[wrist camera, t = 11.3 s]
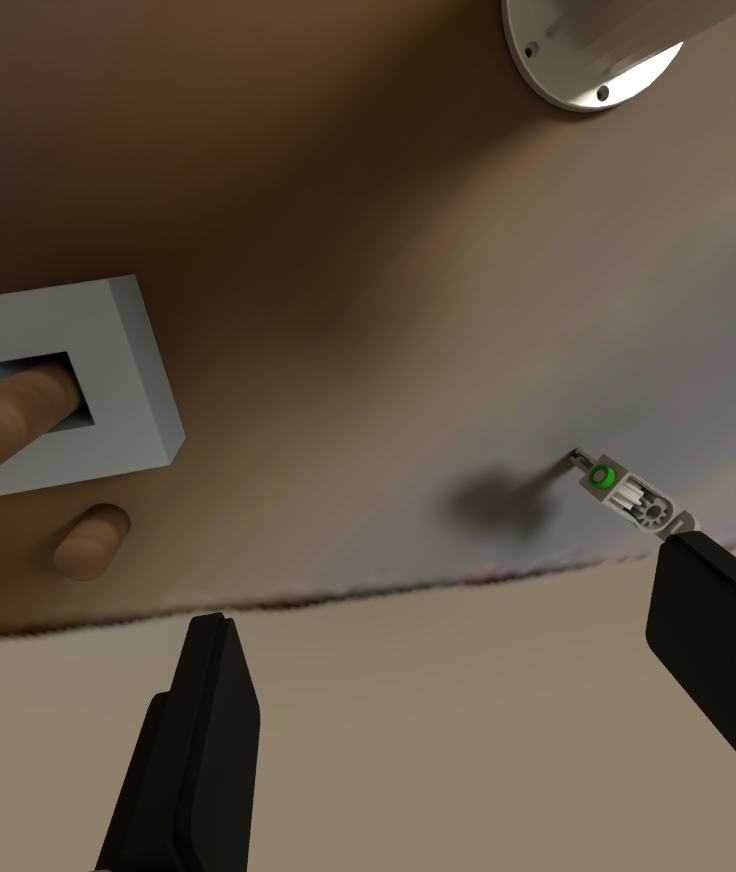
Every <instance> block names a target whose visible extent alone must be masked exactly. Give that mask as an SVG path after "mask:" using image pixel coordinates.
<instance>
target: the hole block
mask: <svg viewBox="0 0 736 872" xmlns="http://www.w3.org/2000/svg"><path fill="white" fill-rule="evenodd" d="M64 351H67V353H68V356H69V358H70V361H71V363H72V366H73V368H74V371H75V374H76V376H77V379H78V381H79V384H80V386H81V389H82V392H83V394H84V397H85V399H86V402H87V404H88V407H85V408H80V409H77V410H76V411H74V412H73V413H71V414H70V415H69V416H67V417H66V418H65V419H63V420H62V421H60V422H59V423H58V424H56V425H55V426H53V427H52V428H51V429H49V430H48V431H47V432H45V433H44V434H42V435H41V436H40V437H38V438H37V439H36V440H34V441H33V442H31V443H30V444H29V445H27V446H26V447H25V448H23V449H22V450H20V451H19V452H18V453H16V454H15V455H13V456H12V457H11V458H9V459H8V460H7V461H5V462H4V463H2V464H1V465H0V495H6V494H11V493H17V492H23V491H28V490H34V489H39V488H45V487H51V486H56V485H62V484H67V483H73V482H78V481H84V480H90V479H95V478H101V477H106V476H112V475H117V474H123V473H129V472H134V471H140V470H145V469H151V468H156V467H162V466H168V465H170V464H171V462H172V460H173V459H174V457H175V455H176V454H177V452H178V450H179V449H180V447H181V445H182V443H183V442H184V440H185V438H186V435H185V432H184V429H183V426H182V423H181V419H180V416H179V413H178V410H177V407H176V403H175V400H174V397H173V394H172V391H171V387H170V384H169V381H168V378H167V375H166V372H165V368H164V365H163V362H162V359H161V356H160V352H159V349H158V346H157V343H156V340H155V336H154V333H153V330H152V327H151V324H150V320H149V317H148V314H147V311H146V308H145V304H144V301H143V298H142V295H141V292H140V288H139V285H138V282H137V279H136V276H135V274H132V275H126V276H119V277H112V278H106V279H99V280H92V281H86V282H79V283H72V284H66V285H59V286H52V287H45V288H39V289H32V290H25V291H19V292H12V293H5V294H0V381H1V380H4V379H6V378H8V377H10V376H13V375H15V374H17V373H19V372H22V371H24V370H26V369H29V368H31V367H33V366H35V364H34V361H33V359H32V357H33V356H39V355H45V354H51V353H58V352H64Z"/></svg>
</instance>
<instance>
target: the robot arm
mask: <svg viewBox="0 0 736 872" xmlns="http://www.w3.org/2000/svg"><path fill="white" fill-rule="evenodd" d="M501 10H502V20H503V26H504V32H505V38H506V41H507V44H508V47H509V50H510V53H511V56H512V58H513V61H514V62H515V64H516V66H517V68H518V70H519V71H520V73H521V75H522V77H523V78H524V79H525V81H526V82H527V83H528V84H529V85H530V87H531V88H532V89H533V90H534V91H535V92H536V93H537V94H538V95H540V96H541V97H542V98H544V99H545V100H546V101H548V102H549V103H551V104H553V105H555V106H558V107H560V108H562V109H565V110H570V111H576V112H595V111H601V110H604V109H607V108H610V107H614V106H616V105H619V104H621V103H623V102H625V101H627V100H629V99H631V98H633V97H634V96H636V95H637V94H639V93H640V92H642V91H643V90H645V89H646V88H648V87H649V86H650V85H651V84H652V83H653V82H654V81H655V80H656V79H657V78H658V77H659V76H660V75H661V74H662V73H663V72H664V71H665V69H666V68H667V67H668V65H669V64H670V63H671V62H672V60H673V59H674V58H675V56H676V55H677V53H678V52H679V50H680V48H681V46H682V45H683V43H684V41H685V40H687V39H689V38H691V37H693V36H695V35H697V34H698V33H700V32H702V31H704V30H706V29H708V28H710V27H712V26H714V25H715V24H717V23H719V22H721V21H723V20H725V19H727V18H729V17H731V16H732V15H734V14H736V0H501ZM525 51H527V52H528V53H529V58H528V57H527V56H526V53H525ZM596 94H597V95H598V99H597V95H596ZM646 640H647V643H648V645H649V647H650V649H651V650H652V651H653V652H654V654H655V655H656V656H657V657H658V658H659V660H660V661H661V662H662V663H663V665H664V666H665V667H666V668H667V669H668V671H669V672H670V673H671V674H672V675H673V677H674V678H675V679H676V680H677V681H678V683H679V684H680V685H681V686H682V687H683V689H684V690H685V691H686V692H687V693H688V695H689V696H690V697H691V698H692V699H693V700H694V702H695V703H696V704H697V705H698V707H699V708H700V709H701V710H702V711H703V712H704V714H705V715H706V716H707V717H708V719H709V720H710V721H711V722H712V723H713V725H714V726H715V727H716V728H717V729H718V730H719V732H720V733H721V734H722V735H723V737H724V738H725V739H726V740H727V741H728V743H729V744H730V745H731V746H732V747H733V749H734V750H735V751H736V557H735V556H733V555H732V554H731V553H729V552H728V551H727V550H725V549H724V548H723V547H721V546H720V545H719V544H717V543H716V542H715V541H713V540H712V539H711V538H709V537H708V536H707V535H705V534H704V533H702V532H700V531H696V530H695V531H689V532H683V533H677V534H672V535H669V536H668V537H667V538H666V540H665V543H663V544H662V545H661V546H660V550H659V556H658V561H657V568H656V573H655V580H654V585H653V591H652V597H651V603H650V609H649V614H648V620H647V626H646ZM259 732H260V709H259V704H258V700H257V697H256V694H255V690H254V687H253V684H252V680H251V677H250V673H249V670H248V667H247V663H246V660H245V657H244V653H243V650H242V646H241V643H240V640H239V636H238V633H237V629H236V626H235V623H234V620H233V619H232V618H228V619H225V618H224V615H223V614H222V613H221V612H219V613H213V614H208V615H202V616H196V617H193V618H192V619H191V622H190V624H189V628H188V631H187V634H186V638H185V641H184V645H183V648H182V651H181V655H180V658H179V661H178V665H177V668H176V672H175V675H174V678H173V682H172V685H171V689H170V691H168V692H163V693H158V694H156V695H155V696H154V697H153V699H152V700H151V703H150V705H149V707H148V710H147V713H146V716H145V719H144V722H143V725H142V728H141V731H140V734H139V737H138V741H137V744H136V747H135V750H134V753H133V756H132V759H131V762H130V765H129V768H128V771H127V774H126V777H125V780H124V783H123V786H122V789H121V792H120V795H119V798H118V801H117V804H116V807H115V810H114V813H113V816H112V819H111V822H110V825H109V828H108V831H107V834H106V837H105V840H104V843H103V846H102V849H101V852H100V856H99V858H98V861H97V864H96V867H95V870H94V871H90V872H247V863H248V851H249V840H250V830H251V819H252V808H253V798H254V787H255V776H256V764H257V754H258V743H259Z"/></svg>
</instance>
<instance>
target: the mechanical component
mask: <svg viewBox="0 0 736 872" xmlns="http://www.w3.org/2000/svg"><path fill="white" fill-rule="evenodd" d="M575 453H576V454H577V455H579V457H577V458H574V457H573V456H571V457H570V461H571V462H572V463H573V464H574V465H576V466H577V467H578V468H579V469H581V470H582V471H583V472H584V473H586V475H585V476H584V477H583V478H582V479H581V480H580V482H579V483H580V484H581V485H582V486H583V487H584V488H585V489H587V490H588V491H589V492H590V493H591V494H592V495H593V496H595V497H596V498H597V499H598V500H599V501H600V502H602V503H603V504H605V505H606V506H608V507H609V508H611V509H612V510H614V511H616V512H617V513H619V514H620V515H622V516H623V517H625V518H626V519H628V520H629V521H630V522H631V523H632V524H634V525H635V526H636V527H637V528H638V529H640V530H641V531H643V532H645V533H654V534H655V535H657V536H658V537H660V538H661V539H662V540H663V541H665V540H666V538H667V537H668V536H669V535H672V534H677V533H683V532H689V531H695V530H696V531H700V524H699V521H698V520H697V519H696V518H695V517H694V516H692V515H691V514H689V513H688V512H686V511H685V510H683V509H682V508H681V507H679V506H678V505H676V503H675V501H674V500H673V499H672V498H670V497H669V496H668V495H666V494H665V493H663V492H662V491H660V490H659V489H657V488H656V487H654V486H653V485H651V484H650V483H648V482H647V481H645V480H644V479H642V478H641V477H639V476H635V475H634V474H632V473H631V472H629V471H628V470H626V469H625V468H624V467H622V466H621V465H619V464H618V463H616V462H615V461H613V460H612V459H610V458H609V457H607V456H606V455H604V454H603V455H602V456H601V457H600V458H599V459H598V458H596V457H595V456H593V455H592V454H591V453H589V452H588V451H586V450H585V449H584V448H577V449H576V452H575ZM590 461H591V462H593V463H594V464H592V463H591V462H590Z"/></svg>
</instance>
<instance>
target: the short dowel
mask: <svg viewBox="0 0 736 872" xmlns="http://www.w3.org/2000/svg"><path fill="white" fill-rule="evenodd" d="M129 529H130V519H129V517H128V515H127V513H126V512H125V511H124V510H122V509H121V508H119V507H118V506H115V505H112V504H106V503H103V504H97V505H94V506H92V507H91V508H89V509H88V510H87V511H86V513H85V514H84V515H83V516H82V518H81V519H80V520H79V521H78V523H77V524H76V525H75V527H74V528H73V529H72V530H71V532H70V533H69V534H68V535H67V537H66V538H65V539H64V540H63V542H62V543H61V544H60V545H59V547H58V548H57V549H56V551H55V554H54V562H55V565H56V567H57V568H58V570H59V571H60V572H61V573H62V574H64V575H65V576H67V577H69V578H71V579H75V580H80V581H87V580H93V579H95V578H98V577H99V576H101V575H102V574H103V573H104V572H105V570H106V569H107V567H108V565H109V564H110V562H111V560H112V558H113V557H114V555H115V553H116V552H117V550H118V548H119V547H120V545H121V543H122V542H123V540H124V538H125V536H126V535H127V533H128V531H129Z"/></svg>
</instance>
